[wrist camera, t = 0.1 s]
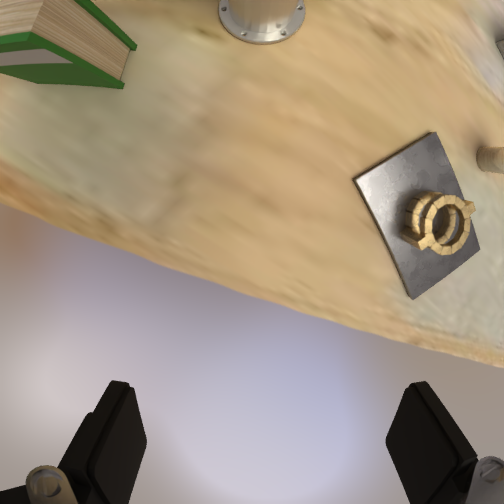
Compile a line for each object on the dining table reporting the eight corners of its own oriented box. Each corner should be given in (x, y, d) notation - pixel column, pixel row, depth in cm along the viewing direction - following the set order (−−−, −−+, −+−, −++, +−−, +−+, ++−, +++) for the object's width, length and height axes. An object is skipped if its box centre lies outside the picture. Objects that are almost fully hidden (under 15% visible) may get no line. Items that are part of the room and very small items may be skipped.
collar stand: (352, 179, 44) (371, 182, 37) (430, 132, 42) (457, 129, 34) (408, 296, 49) (429, 315, 42) (475, 247, 47) (500, 259, 39)
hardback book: (137, 45, 38) (58, -28, 15) (122, 89, 40) (27, 40, 17) (50, 44, 37) (-41, 3, 14) (37, 83, 39) (-63, 58, 16)
